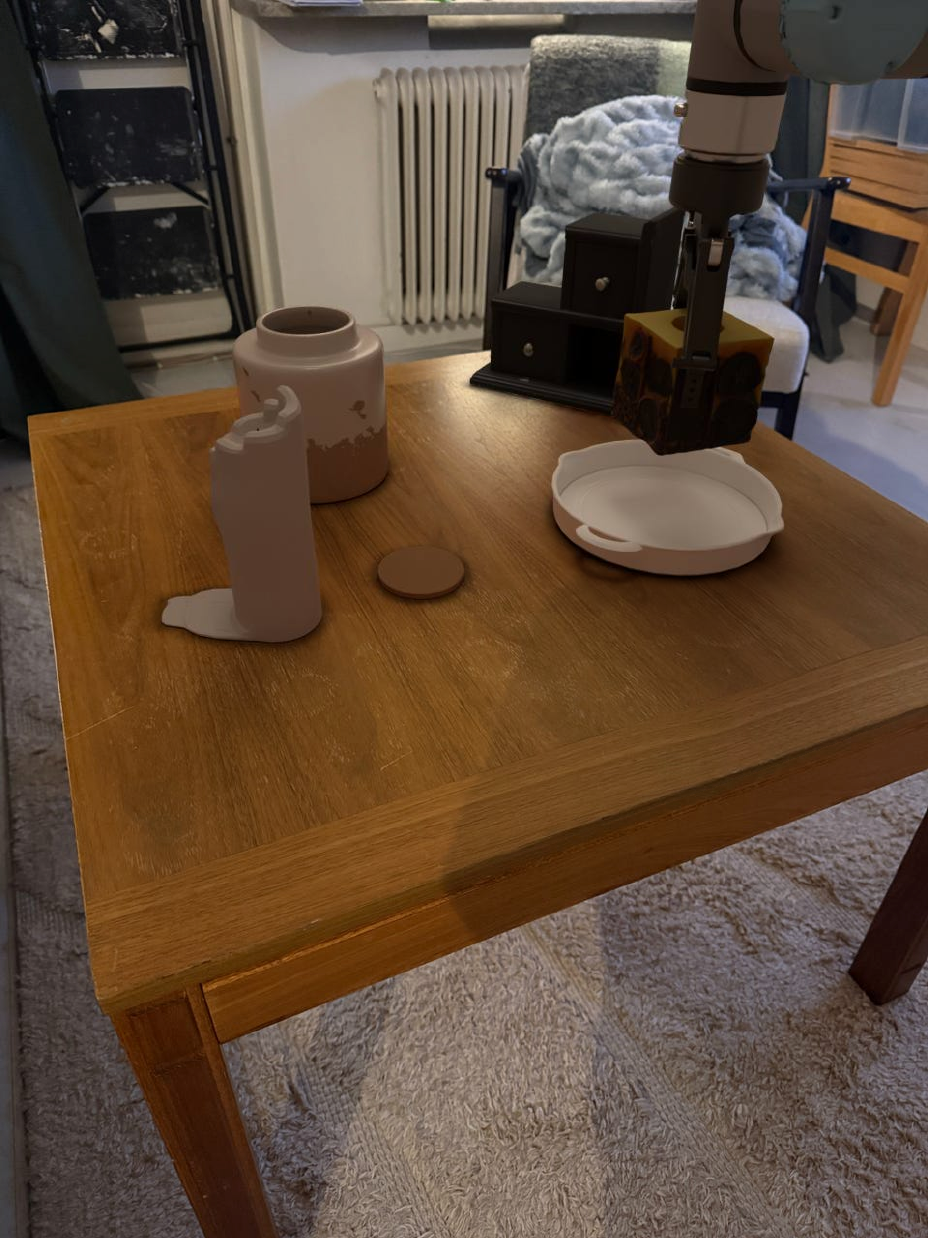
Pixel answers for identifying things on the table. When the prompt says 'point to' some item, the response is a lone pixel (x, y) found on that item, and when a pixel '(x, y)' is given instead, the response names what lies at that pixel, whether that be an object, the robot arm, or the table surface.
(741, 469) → the pan
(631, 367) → the candle
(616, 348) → the black mini drawer cabinet
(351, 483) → the vase
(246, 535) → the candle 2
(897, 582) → the table surface
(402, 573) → the coaster
